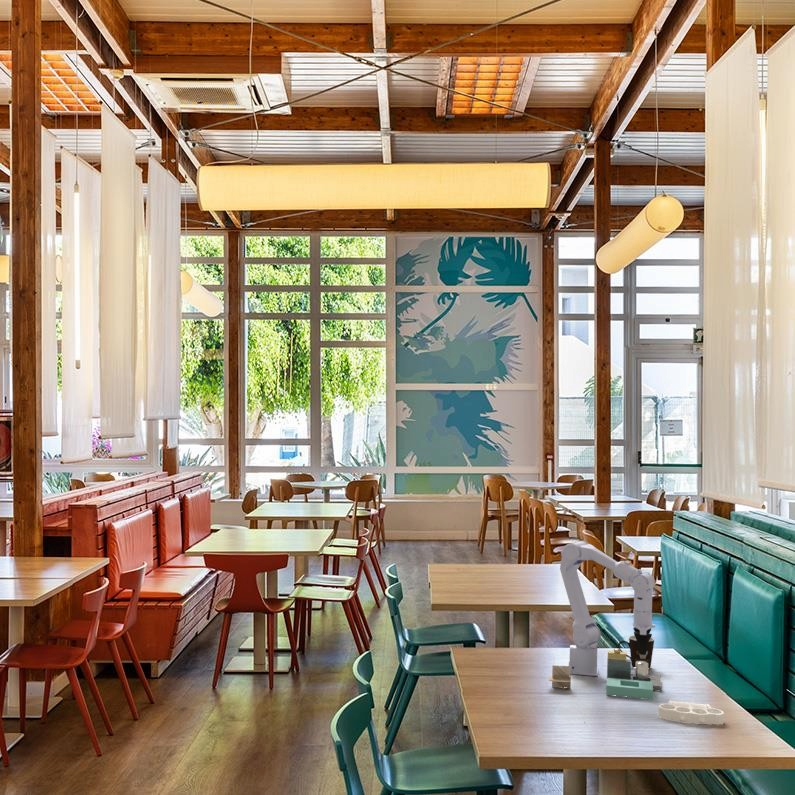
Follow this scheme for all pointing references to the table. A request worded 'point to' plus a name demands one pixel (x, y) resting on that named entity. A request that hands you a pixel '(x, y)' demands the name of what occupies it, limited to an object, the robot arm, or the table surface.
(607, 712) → the table surface
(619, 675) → the socket block
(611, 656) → the yellow small block
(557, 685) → the architectural model
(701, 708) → the white brass knuckles
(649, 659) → the coffee mug
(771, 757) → the table surface
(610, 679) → the holder
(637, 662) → the white upright block
